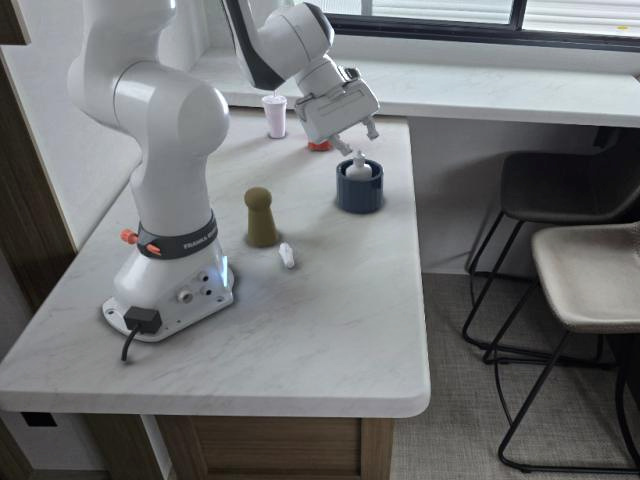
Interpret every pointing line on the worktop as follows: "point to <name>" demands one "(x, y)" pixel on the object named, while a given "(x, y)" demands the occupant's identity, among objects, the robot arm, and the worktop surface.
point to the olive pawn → (260, 217)
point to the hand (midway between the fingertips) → (362, 146)
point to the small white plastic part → (286, 255)
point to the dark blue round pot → (359, 189)
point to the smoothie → (275, 114)
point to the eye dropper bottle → (359, 168)
